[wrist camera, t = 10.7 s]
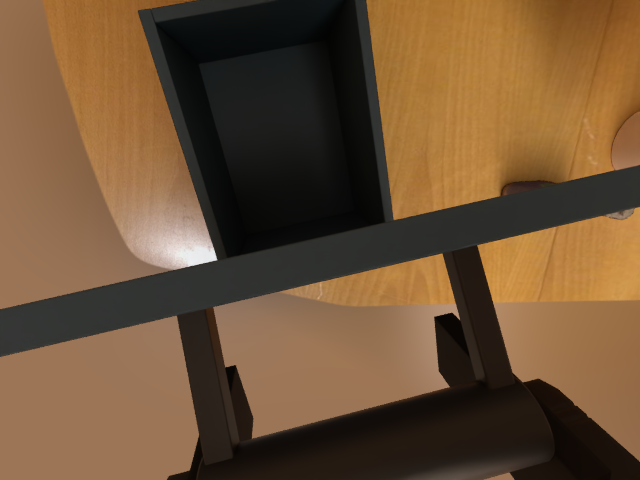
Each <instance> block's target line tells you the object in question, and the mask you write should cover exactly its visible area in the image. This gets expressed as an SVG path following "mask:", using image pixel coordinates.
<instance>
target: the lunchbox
mask: <svg viewBox="0 0 640 480" xmlns="http://www.w3.org/2000/svg"><path fill="white" fill-rule="evenodd" d="M138 13H139V16H140V20H141V23H142V26H143V29H144V32H145V35H146V38H147V41H148V44H149V48H150V51H151V54H152V57H153V60H154V63H155V66H156V69H157V73H158V76H159V79H160V82H161V85H162V88H163V91H164V94H165V97H166V101H167V104H168V107H169V110H170V113H171V116H172V119H173V122H174V126H175V129H176V132H177V135H178V138H179V141H180V144H181V147H182V150H183V154H184V157H185V160H186V163H187V166H188V169H189V172H190V175H191V178H192V182H193V185H194V188H195V191H196V194H197V197H198V200H199V203H200V207H201V210H202V213H203V216H204V219H205V222H206V225H207V228H208V231H209V235H210V238H211V241H212V244H213V247H214V250H215V253H216V256H217V260H221V259H226V258H230V257H234V256H239V255H243V254H248V253H252V252H256V251H261V250H265V249H270V248H274V247H279V246H283V245H287V244H292V243H296V242H301V241H305V240H310V239H314V238H318V237H323V236H327V235H332V234H336V233H341V232H345V231H349V230H354V229H358V228H363V227H367V226H372V225H376V224H380V223H385V222H389V221H394V220H393V212H392V204H391V196H390V188H389V180H388V172H387V164H386V156H385V148H384V140H383V132H382V124H381V116H380V108H379V100H378V92H377V84H376V76H375V68H374V60H373V52H372V44H371V36H370V28H369V20H368V12H367V4H366V0H197V1H192V2H186V3H180V4H175V5H169V6H163V7H158V8H152V9H145V10H139V11H138Z"/></svg>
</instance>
